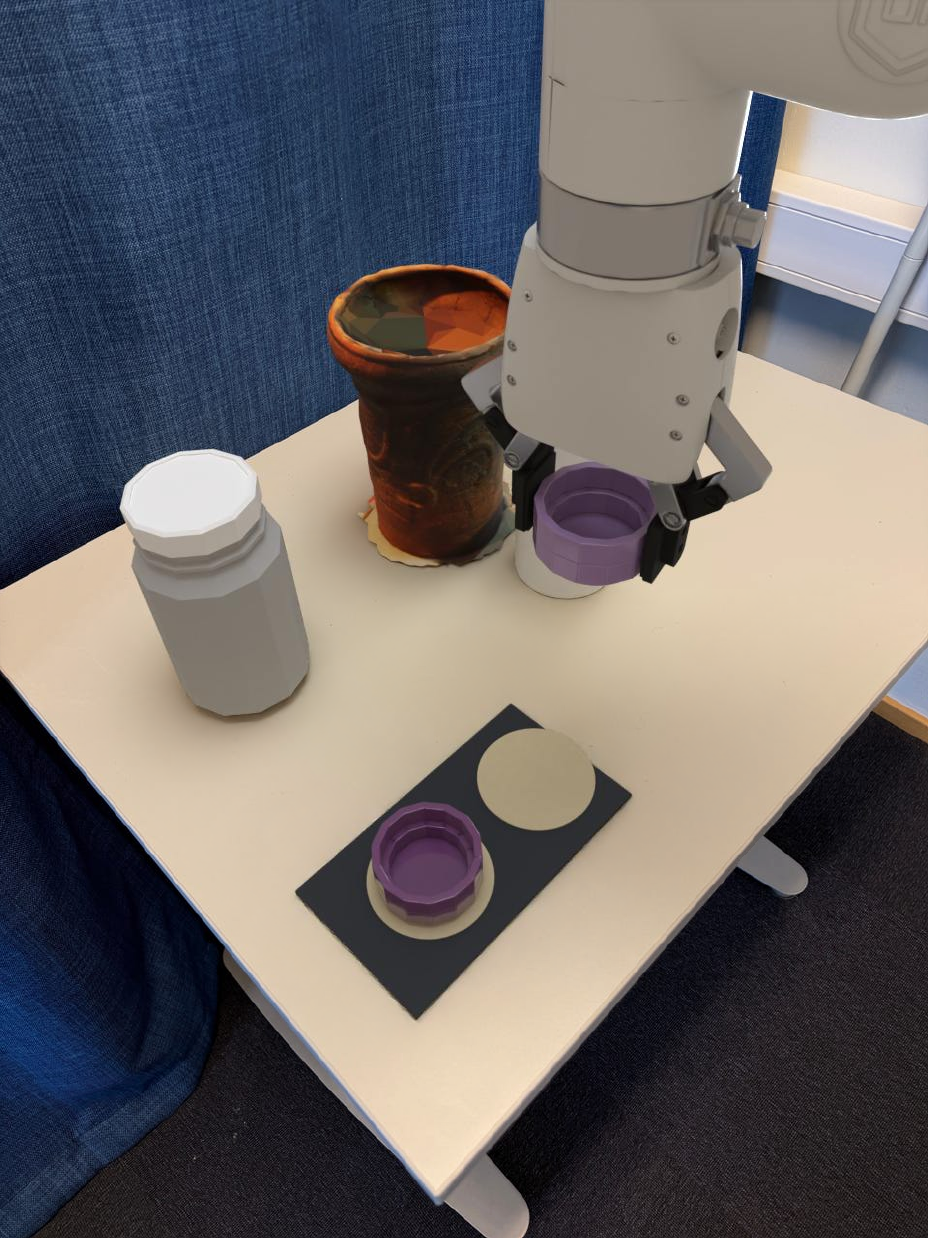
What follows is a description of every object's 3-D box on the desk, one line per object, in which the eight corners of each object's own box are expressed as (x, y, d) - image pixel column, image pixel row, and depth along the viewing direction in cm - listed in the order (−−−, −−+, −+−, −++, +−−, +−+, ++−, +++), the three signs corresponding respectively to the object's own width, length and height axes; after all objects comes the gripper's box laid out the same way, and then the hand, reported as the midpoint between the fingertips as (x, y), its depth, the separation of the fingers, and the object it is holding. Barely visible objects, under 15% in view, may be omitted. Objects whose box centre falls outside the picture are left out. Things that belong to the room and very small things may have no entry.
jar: (174, 645, 71) (99, 461, 57) (296, 610, 73) (251, 425, 59) (194, 742, 64) (115, 562, 51) (327, 701, 67) (285, 518, 53)
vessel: (403, 448, 87) (384, 244, 72) (542, 487, 82) (553, 278, 67) (326, 543, 78) (286, 334, 63) (476, 591, 74) (472, 379, 59)
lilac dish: (605, 493, 53) (611, 446, 50) (679, 563, 49) (690, 515, 46) (509, 534, 51) (510, 487, 48) (579, 610, 47) (584, 563, 44)
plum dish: (448, 811, 60) (446, 784, 57) (503, 894, 56) (503, 868, 53) (358, 859, 58) (352, 833, 55) (409, 949, 54) (404, 925, 51)
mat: (515, 702, 66) (515, 698, 66) (636, 792, 61) (637, 788, 61) (295, 893, 57) (294, 890, 56) (416, 1020, 51) (415, 1017, 51)
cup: (589, 520, 79) (606, 359, 67) (630, 584, 74) (656, 421, 62) (501, 542, 77) (503, 381, 66) (536, 609, 72) (545, 447, 60)
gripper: (879, 224, 35) (772, 557, 48) (494, 139, 41) (493, 453, 55) (816, 312, 31) (718, 650, 44) (398, 201, 37) (423, 524, 50)
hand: (594, 538), depth 49 cm, fingers closed on lilac dish, 6 cm apart
